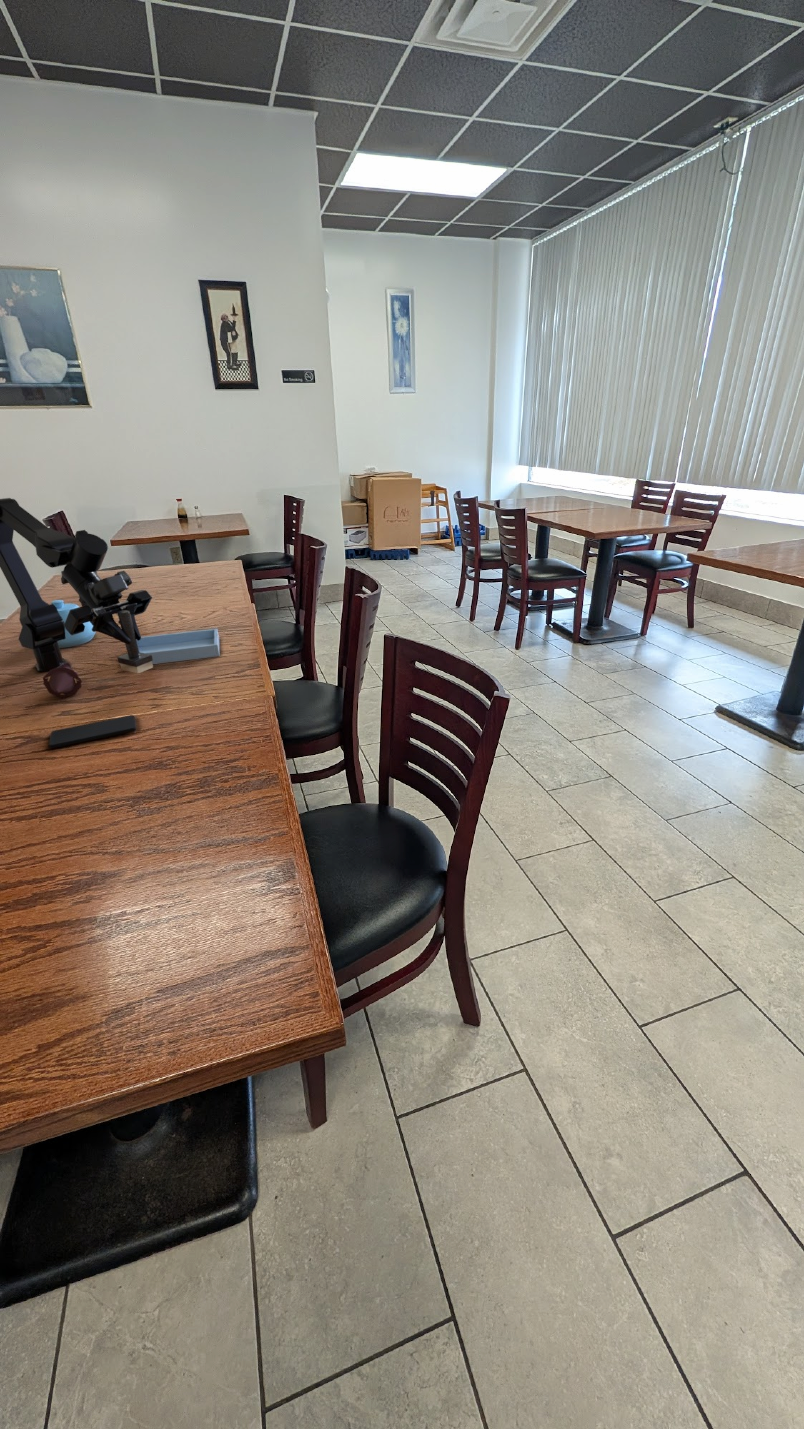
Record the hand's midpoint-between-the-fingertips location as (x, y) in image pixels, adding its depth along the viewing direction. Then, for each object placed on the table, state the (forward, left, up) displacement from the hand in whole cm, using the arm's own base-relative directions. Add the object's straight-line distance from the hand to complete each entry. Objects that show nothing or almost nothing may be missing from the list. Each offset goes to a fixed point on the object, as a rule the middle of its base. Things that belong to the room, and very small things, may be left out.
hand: (134, 641), depth 127 cm
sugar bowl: (-52, -8, -12) cm, 54 cm away
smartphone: (+16, -14, -11) cm, 24 cm away
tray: (-21, +13, -11) cm, 27 cm away
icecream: (-9, -15, -12) cm, 21 cm away
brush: (-1, -1, -7) cm, 7 cm away
